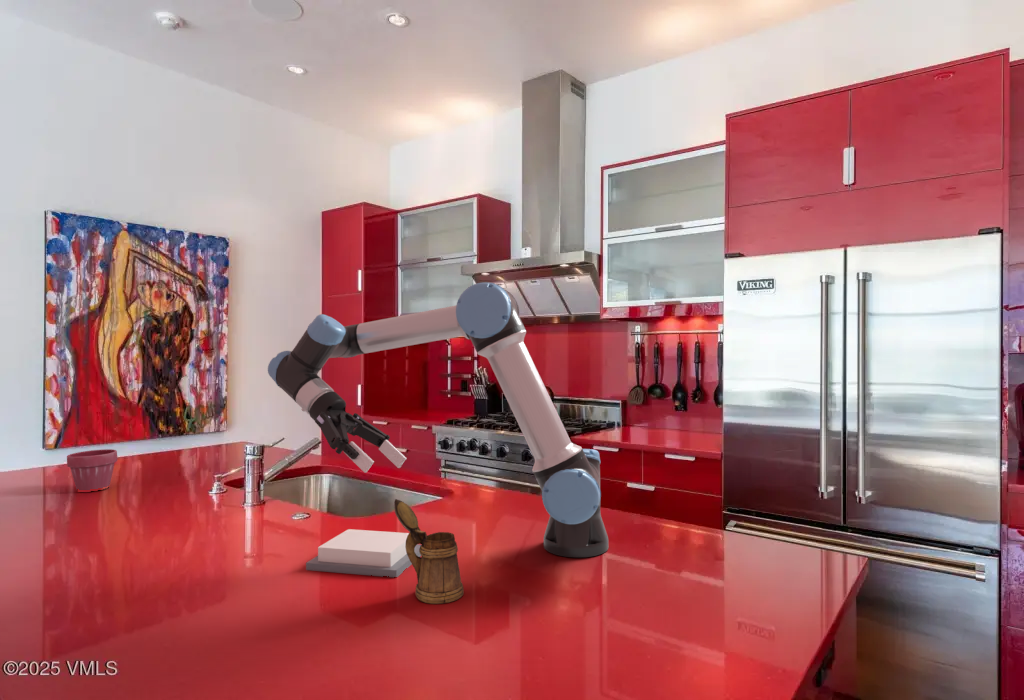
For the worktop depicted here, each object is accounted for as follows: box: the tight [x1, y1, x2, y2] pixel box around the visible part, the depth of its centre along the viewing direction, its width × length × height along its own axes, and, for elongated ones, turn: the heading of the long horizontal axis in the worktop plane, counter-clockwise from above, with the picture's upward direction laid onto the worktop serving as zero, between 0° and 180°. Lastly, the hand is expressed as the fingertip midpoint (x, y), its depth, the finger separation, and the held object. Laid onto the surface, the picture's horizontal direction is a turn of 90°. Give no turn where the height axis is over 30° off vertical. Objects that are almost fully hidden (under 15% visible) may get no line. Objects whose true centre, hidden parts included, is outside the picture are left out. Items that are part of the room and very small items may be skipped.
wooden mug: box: [393, 498, 465, 605], centre depth 115 cm, size 9×14×18 cm, turn 78°
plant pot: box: [66, 448, 118, 490], centre depth 205 cm, size 14×14×13 cm
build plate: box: [305, 528, 422, 578], centre depth 133 cm, size 21×16×4 cm
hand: (386, 465), depth 126 cm, fingers open, 13 cm apart
